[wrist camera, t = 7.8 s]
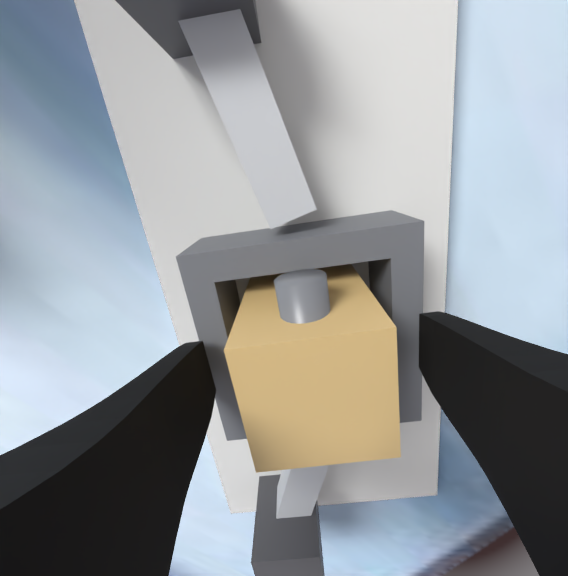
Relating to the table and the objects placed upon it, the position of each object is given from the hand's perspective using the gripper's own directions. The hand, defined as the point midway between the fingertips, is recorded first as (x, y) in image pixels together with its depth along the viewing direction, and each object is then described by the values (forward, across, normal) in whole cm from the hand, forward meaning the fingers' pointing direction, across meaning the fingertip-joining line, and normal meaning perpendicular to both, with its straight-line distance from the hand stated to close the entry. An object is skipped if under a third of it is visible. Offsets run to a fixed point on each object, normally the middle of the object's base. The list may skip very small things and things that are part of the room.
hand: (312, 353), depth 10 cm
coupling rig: (+4, 0, 0) cm, 4 cm away
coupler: (+3, 0, 0) cm, 3 cm away
